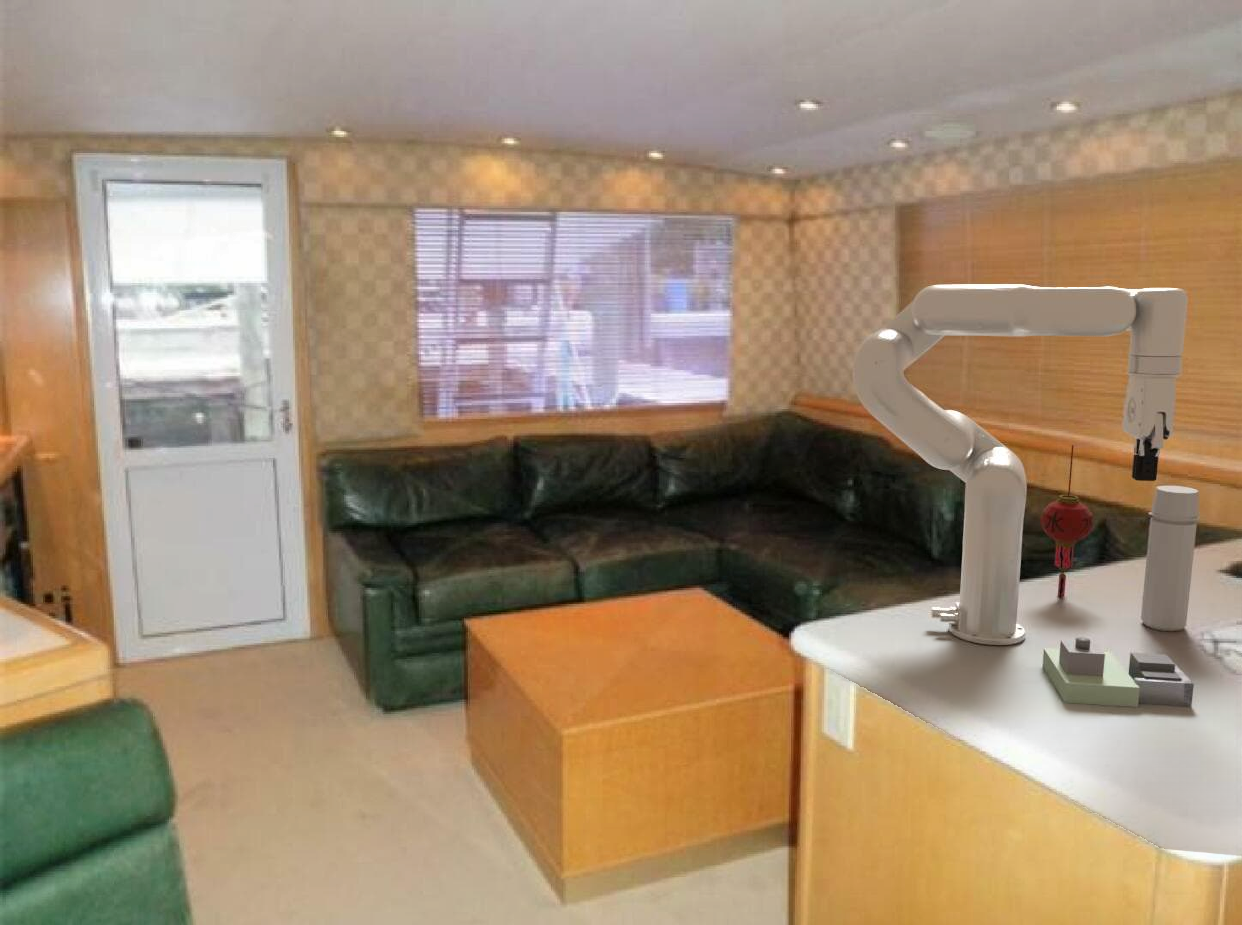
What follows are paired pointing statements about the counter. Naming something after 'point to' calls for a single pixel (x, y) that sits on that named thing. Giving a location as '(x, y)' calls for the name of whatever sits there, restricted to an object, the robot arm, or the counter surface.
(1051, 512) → the lantern
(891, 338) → the robot arm
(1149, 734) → the counter surface
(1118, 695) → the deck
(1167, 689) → the side bracket
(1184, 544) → the water bottle
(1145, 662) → the gray stepped block
